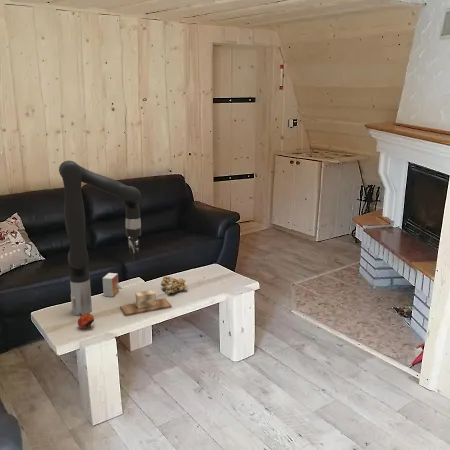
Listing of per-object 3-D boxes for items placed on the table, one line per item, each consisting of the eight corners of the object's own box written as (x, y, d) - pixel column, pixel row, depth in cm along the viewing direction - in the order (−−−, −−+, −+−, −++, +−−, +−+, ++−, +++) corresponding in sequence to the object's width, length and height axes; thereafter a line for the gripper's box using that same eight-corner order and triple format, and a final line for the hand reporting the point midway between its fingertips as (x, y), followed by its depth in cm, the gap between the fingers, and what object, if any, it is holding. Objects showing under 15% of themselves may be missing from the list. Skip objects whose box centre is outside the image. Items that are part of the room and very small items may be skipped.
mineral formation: (168, 297, 259) (154, 287, 270) (188, 294, 268) (173, 284, 279) (170, 283, 257) (156, 273, 268) (191, 281, 266) (176, 271, 277)
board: (125, 316, 237) (124, 314, 237) (120, 308, 246) (120, 306, 246) (171, 307, 247) (171, 305, 247) (165, 300, 256) (165, 297, 256)
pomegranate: (97, 330, 228) (86, 313, 232) (100, 322, 223) (89, 305, 227) (83, 337, 224) (72, 320, 227) (86, 329, 218) (75, 312, 222)
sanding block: (138, 309, 242) (137, 296, 240) (135, 305, 247) (135, 292, 245) (155, 306, 246) (155, 293, 244) (153, 302, 250) (152, 289, 248)
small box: (113, 297, 259) (112, 278, 256) (103, 296, 260) (102, 277, 257) (119, 291, 267) (118, 273, 264) (109, 290, 268) (108, 272, 265)
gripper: (122, 223, 247) (123, 253, 251) (129, 230, 235) (130, 262, 239) (137, 222, 250) (138, 252, 254) (144, 229, 238) (145, 260, 242)
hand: (134, 257), depth 247 cm, fingers open, 8 cm apart
